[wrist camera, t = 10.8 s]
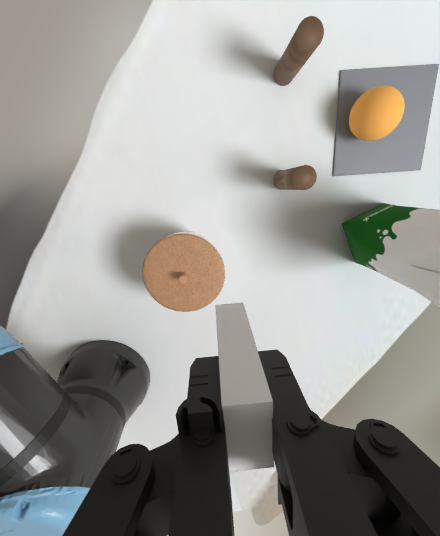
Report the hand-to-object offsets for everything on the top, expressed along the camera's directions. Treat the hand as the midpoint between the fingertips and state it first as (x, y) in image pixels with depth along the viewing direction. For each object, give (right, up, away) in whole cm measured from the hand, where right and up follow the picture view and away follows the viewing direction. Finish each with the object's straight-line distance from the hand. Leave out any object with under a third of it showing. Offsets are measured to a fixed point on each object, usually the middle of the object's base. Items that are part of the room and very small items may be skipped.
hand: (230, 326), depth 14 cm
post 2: (+9, +16, +23) cm, 29 cm away
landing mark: (+22, +23, +21) cm, 38 cm away
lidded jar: (-6, +5, +26) cm, 27 cm away
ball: (+19, +23, +18) cm, 35 cm away
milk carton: (+23, +9, +26) cm, 36 cm away
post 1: (+8, +29, +19) cm, 35 cm away
